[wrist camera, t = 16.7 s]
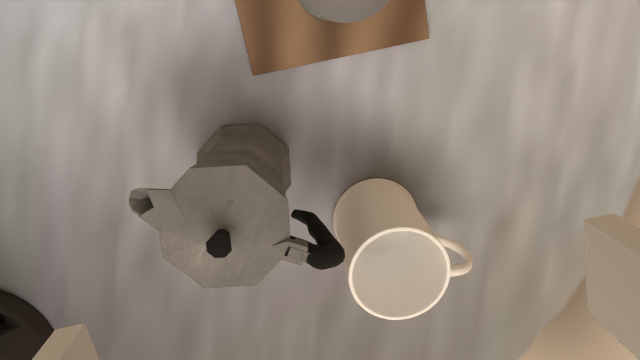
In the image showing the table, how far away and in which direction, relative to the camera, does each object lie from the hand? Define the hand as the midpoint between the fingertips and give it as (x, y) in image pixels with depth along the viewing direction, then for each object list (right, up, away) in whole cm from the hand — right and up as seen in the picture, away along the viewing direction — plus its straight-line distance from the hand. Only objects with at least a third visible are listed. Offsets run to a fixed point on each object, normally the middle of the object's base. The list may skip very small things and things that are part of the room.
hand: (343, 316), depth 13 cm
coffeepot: (-7, +4, +35) cm, 36 cm away
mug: (+6, -1, +37) cm, 38 cm away
